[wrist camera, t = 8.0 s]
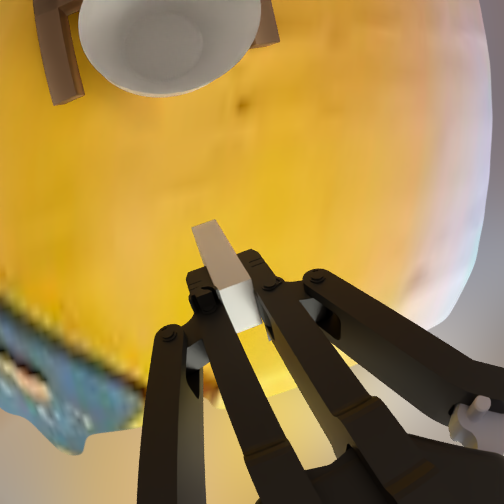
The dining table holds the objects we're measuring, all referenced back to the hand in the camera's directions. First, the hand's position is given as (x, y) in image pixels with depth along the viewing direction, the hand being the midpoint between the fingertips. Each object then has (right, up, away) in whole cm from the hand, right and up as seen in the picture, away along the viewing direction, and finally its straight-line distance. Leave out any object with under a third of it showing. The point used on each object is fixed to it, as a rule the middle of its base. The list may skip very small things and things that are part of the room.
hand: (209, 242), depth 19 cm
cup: (-5, +16, +2) cm, 17 cm away
